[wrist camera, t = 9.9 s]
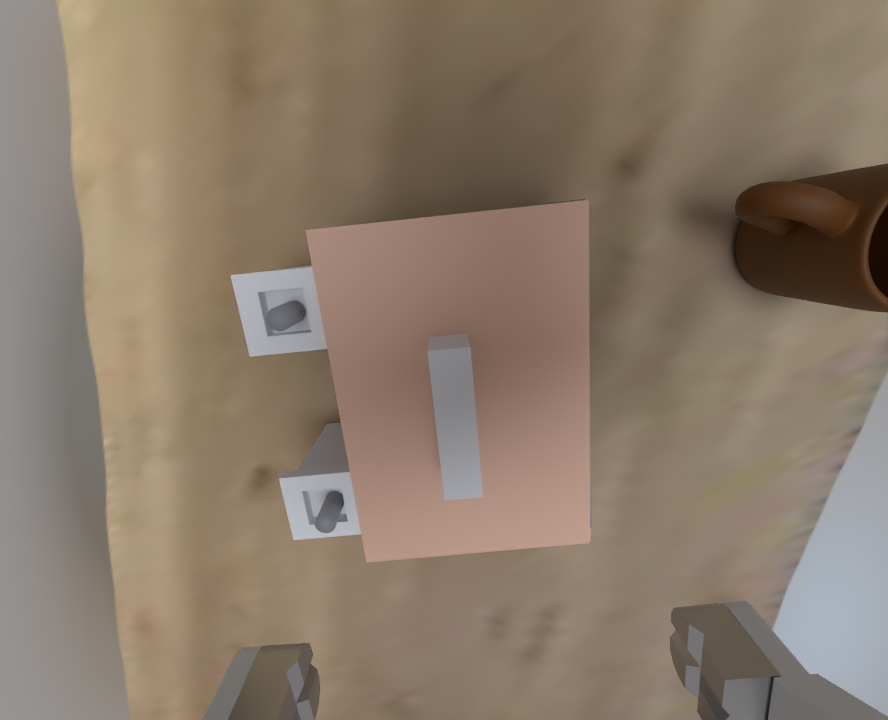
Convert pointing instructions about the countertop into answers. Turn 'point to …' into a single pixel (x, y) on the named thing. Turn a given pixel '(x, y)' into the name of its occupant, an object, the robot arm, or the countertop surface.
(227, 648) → the countertop surface
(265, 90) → the countertop surface
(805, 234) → the mug
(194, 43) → the countertop surface
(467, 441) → the door
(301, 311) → the cabinet
